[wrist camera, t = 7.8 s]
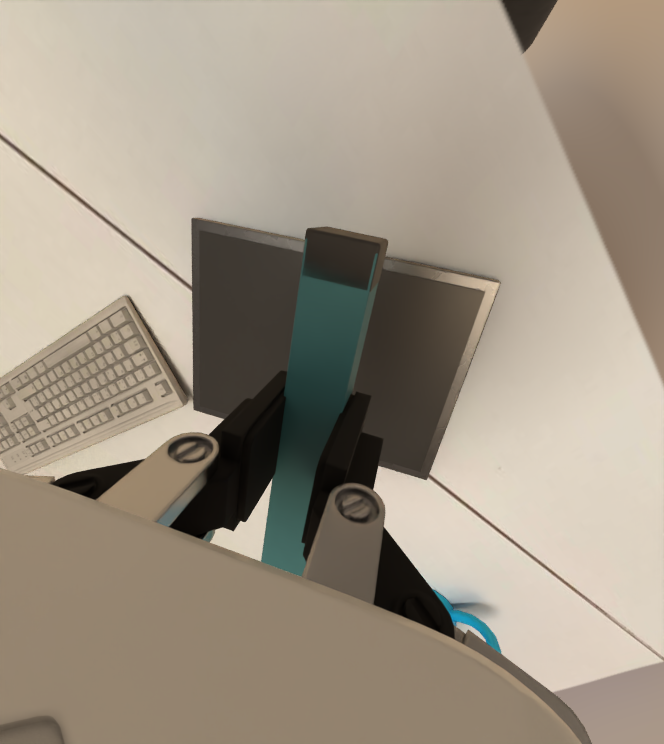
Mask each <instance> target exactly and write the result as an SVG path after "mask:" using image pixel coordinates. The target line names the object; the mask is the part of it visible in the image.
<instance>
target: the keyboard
mask: <svg viewBox="0 0 664 744" xmlns="http://www.w3.org/2000/svg"><path fill="white" fill-rule="evenodd" d="M187 402H188V399H187V397H186V396H185V394H184V392H183V390H182V389H181V387H180V385H179V384H178V382H177V380H176V379H175V377H174V375H173V373H172V372H171V370H170V368H169V367H168V365H167V363H166V361H165V360H164V358H163V356H162V355H161V353H160V351H159V350H158V348H157V346H156V344H155V343H154V341H153V339H152V338H151V336H150V334H149V333H148V331H147V329H146V327H145V326H144V324H143V322H142V321H141V319H140V317H139V316H138V314H137V312H136V310H135V309H134V307H133V305H132V304H131V302H130V300H129V298H128V297H127V296H122V297H121V298H119V299H118V300H116V301H115V302H113V303H112V304H111V305H109V306H108V307H106V308H105V309H103V310H102V311H100V312H99V313H97V314H96V315H94V316H93V317H91V318H90V319H88V320H87V321H85V322H84V323H82V324H81V325H79V326H78V327H76V328H75V329H73V330H72V331H70V332H69V333H67V334H66V335H64V336H63V337H61V338H60V339H58V340H57V341H55V342H54V343H52V344H51V345H49V346H48V347H46V348H45V349H43V350H42V351H40V352H39V353H37V354H36V355H34V356H33V357H31V358H30V359H28V360H27V361H25V362H24V363H22V364H21V365H19V366H18V367H16V368H15V369H13V370H12V371H10V372H9V373H7V374H6V375H4V376H3V377H2V378H0V459H1V461H2V462H3V464H4V465H5V467H6V469H7V470H8V471H12V472H15V473H18V474H22V475H24V474H27V473H29V472H31V471H34V470H36V469H38V468H41V467H43V466H45V465H48V464H50V463H52V462H55V461H57V460H59V459H61V458H64V457H66V456H68V455H71V454H73V453H75V452H78V451H80V450H82V449H85V448H87V447H89V446H92V445H94V444H96V443H99V442H101V441H103V440H106V439H108V438H110V437H113V436H115V435H117V434H120V433H122V432H124V431H127V430H129V429H131V428H134V427H136V426H138V425H141V424H143V423H145V422H148V421H150V420H152V419H155V418H157V417H159V416H162V415H164V414H166V413H169V412H171V411H173V410H176V409H178V408H180V407H182V406H184V405H186V404H187Z"/></svg>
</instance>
